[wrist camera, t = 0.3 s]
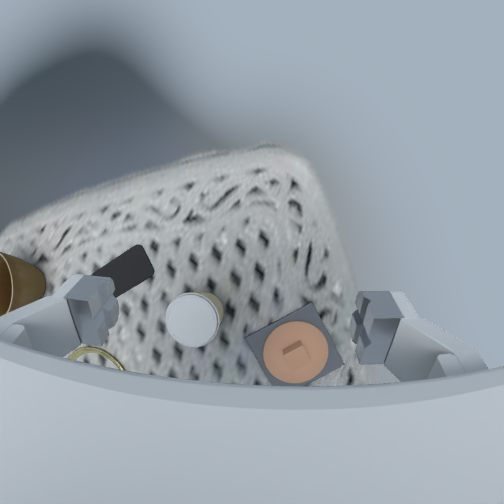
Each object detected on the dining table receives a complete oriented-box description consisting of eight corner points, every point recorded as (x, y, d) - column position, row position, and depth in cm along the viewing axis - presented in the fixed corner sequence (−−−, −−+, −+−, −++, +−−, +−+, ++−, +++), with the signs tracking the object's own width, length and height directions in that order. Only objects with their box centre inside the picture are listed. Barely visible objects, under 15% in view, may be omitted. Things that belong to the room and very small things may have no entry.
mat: (343, 363, 61) (344, 364, 60) (279, 397, 61) (279, 397, 61) (311, 301, 62) (311, 302, 61) (244, 337, 62) (244, 338, 62)
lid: (338, 362, 61) (343, 370, 56) (281, 392, 61) (282, 401, 56) (309, 309, 61) (313, 312, 57) (251, 340, 62) (250, 346, 57)
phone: (88, 276, 64) (139, 242, 64) (90, 275, 65) (141, 242, 64) (102, 305, 64) (155, 273, 63) (104, 305, 65) (156, 273, 64)
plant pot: (61, 263, 65) (17, 262, 49) (51, 321, 65) (8, 332, 49) (23, 246, 66) (-20, 242, 50) (13, 300, 66) (-28, 305, 50)
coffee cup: (174, 318, 63) (154, 329, 51) (196, 279, 63) (180, 282, 51) (213, 341, 63) (201, 358, 51) (236, 303, 63) (229, 312, 51)
